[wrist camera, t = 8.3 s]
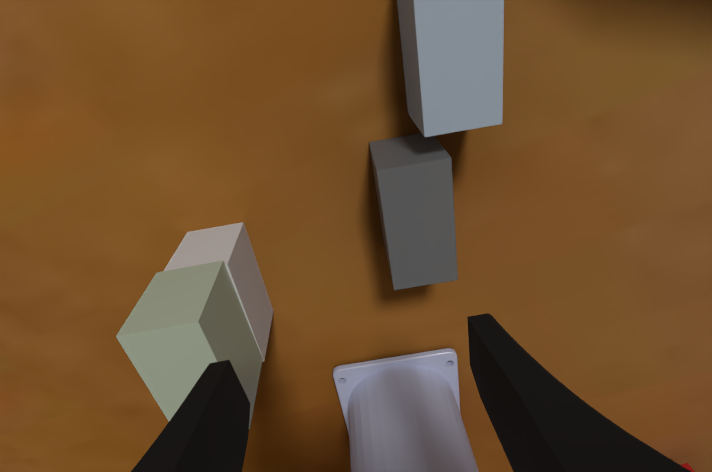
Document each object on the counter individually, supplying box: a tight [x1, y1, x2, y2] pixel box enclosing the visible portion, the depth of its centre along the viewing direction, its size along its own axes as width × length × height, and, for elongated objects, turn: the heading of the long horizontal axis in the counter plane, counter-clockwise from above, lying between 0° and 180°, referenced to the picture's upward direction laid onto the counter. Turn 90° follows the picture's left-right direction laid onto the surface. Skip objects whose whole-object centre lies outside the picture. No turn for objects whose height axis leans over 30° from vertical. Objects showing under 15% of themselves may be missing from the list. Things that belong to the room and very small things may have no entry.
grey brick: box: [164, 222, 273, 362], centre depth 21 cm, size 6×3×4 cm, turn 9°
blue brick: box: [397, 0, 504, 137], centre depth 16 cm, size 6×3×4 cm, turn 9°
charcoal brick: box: [369, 133, 458, 290], centre depth 20 cm, size 6×3×4 cm, turn 9°
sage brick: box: [116, 260, 263, 429], centre depth 18 cm, size 6×3×4 cm, turn 10°
